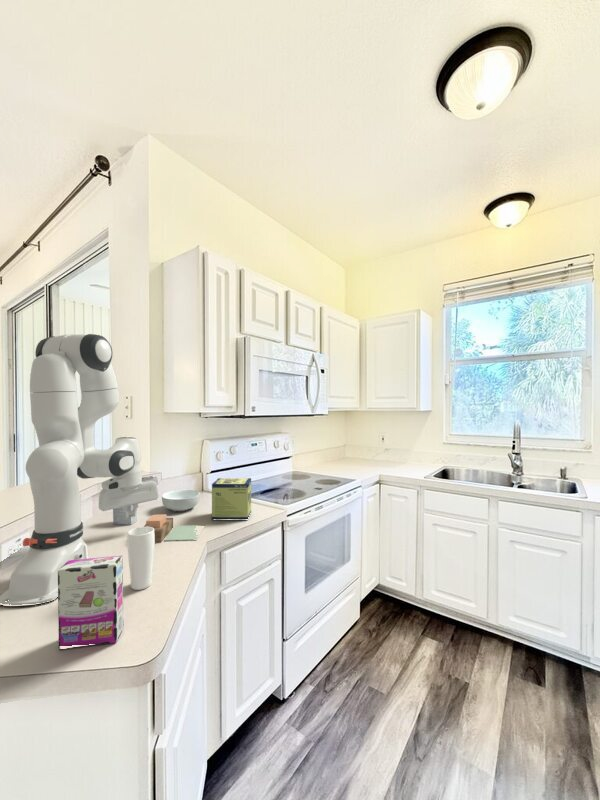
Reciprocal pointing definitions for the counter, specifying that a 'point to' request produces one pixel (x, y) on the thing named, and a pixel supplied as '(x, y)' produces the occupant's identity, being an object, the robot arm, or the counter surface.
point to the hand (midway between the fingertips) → (130, 516)
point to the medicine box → (123, 516)
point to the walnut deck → (163, 530)
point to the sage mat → (182, 533)
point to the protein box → (231, 498)
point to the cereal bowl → (180, 499)
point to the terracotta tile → (156, 521)
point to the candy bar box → (90, 601)
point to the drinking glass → (141, 556)
